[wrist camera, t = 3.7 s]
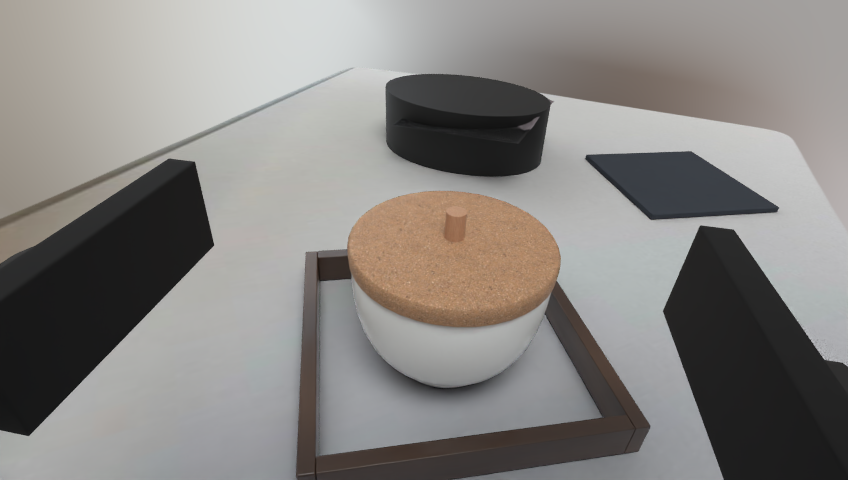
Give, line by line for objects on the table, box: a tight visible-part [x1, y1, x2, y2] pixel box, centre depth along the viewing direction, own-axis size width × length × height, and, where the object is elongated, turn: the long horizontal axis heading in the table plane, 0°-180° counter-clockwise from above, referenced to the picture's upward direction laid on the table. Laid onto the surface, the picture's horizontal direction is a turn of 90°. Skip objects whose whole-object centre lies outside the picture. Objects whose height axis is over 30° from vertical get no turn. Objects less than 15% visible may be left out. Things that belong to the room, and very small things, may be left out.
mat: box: [586, 151, 779, 219], centre depth 49 cm, size 13×13×1 cm
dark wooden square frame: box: [296, 249, 650, 480], centre depth 28 cm, size 16×16×2 cm
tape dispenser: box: [386, 74, 554, 176], centre depth 52 cm, size 14×18×8 cm
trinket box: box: [347, 191, 561, 388], centre depth 26 cm, size 11×11×9 cm
